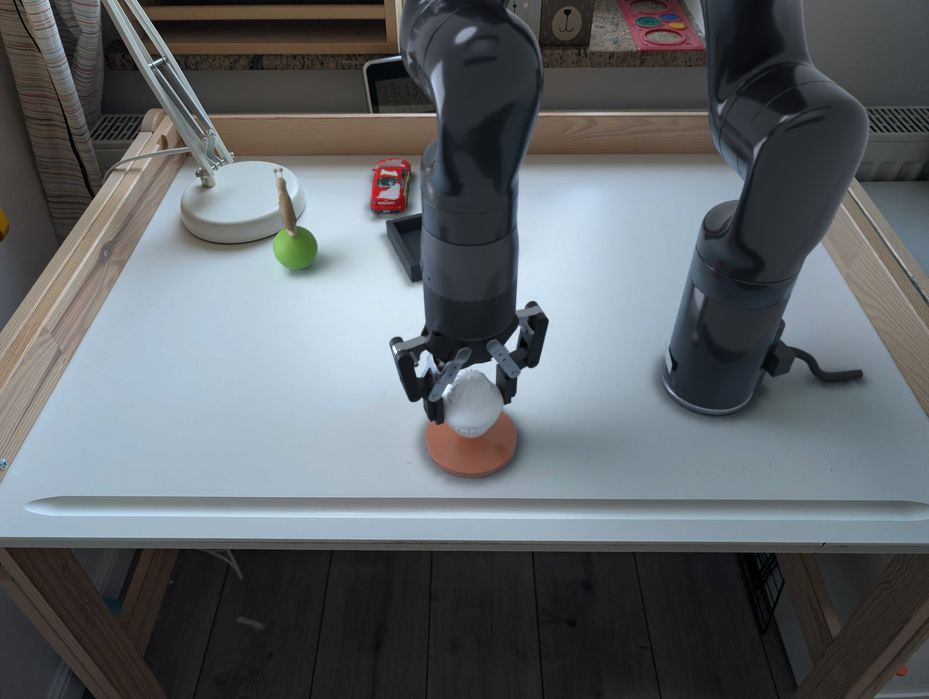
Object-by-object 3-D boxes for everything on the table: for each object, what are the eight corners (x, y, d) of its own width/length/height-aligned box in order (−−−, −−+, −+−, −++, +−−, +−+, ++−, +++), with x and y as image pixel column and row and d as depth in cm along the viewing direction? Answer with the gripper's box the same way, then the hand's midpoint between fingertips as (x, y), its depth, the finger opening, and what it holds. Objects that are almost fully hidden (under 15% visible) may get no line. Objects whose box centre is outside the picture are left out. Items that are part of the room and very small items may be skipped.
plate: (495, 396, 75) (495, 391, 75) (531, 461, 69) (532, 456, 69) (414, 421, 73) (413, 415, 72) (444, 490, 67) (443, 485, 66)
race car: (378, 170, 108) (375, 145, 105) (414, 170, 108) (412, 145, 105) (366, 219, 99) (363, 194, 96) (405, 219, 98) (403, 194, 96)
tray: (467, 217, 99) (467, 202, 97) (497, 261, 92) (498, 245, 90) (387, 236, 96) (385, 220, 94) (411, 282, 89) (410, 266, 87)
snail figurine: (315, 244, 95) (299, 163, 86) (324, 273, 90) (308, 190, 82) (274, 252, 93) (254, 171, 85) (281, 282, 89) (260, 199, 81)
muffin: (507, 407, 71) (510, 357, 66) (495, 455, 67) (497, 406, 62) (447, 397, 72) (445, 347, 67) (431, 444, 68) (428, 394, 63)
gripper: (395, 319, 52) (410, 460, 63) (574, 273, 55) (557, 414, 67) (367, 260, 57) (386, 401, 68) (533, 221, 60) (523, 361, 72)
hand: (470, 407), depth 68 cm, fingers closed on muffin, 6 cm apart
